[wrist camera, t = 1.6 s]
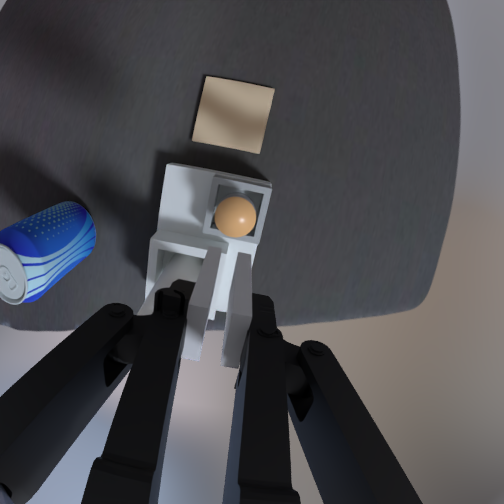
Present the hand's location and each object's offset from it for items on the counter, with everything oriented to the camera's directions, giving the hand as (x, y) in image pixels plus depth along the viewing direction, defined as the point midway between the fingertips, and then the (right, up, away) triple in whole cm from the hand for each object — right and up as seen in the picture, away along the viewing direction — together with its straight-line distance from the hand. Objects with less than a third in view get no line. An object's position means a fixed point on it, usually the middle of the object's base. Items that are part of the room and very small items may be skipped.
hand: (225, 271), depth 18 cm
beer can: (-23, +4, +20) cm, 31 cm away
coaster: (-1, +17, +15) cm, 23 cm away
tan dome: (0, +5, +15) cm, 16 cm away
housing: (-4, +3, +21) cm, 21 cm away
